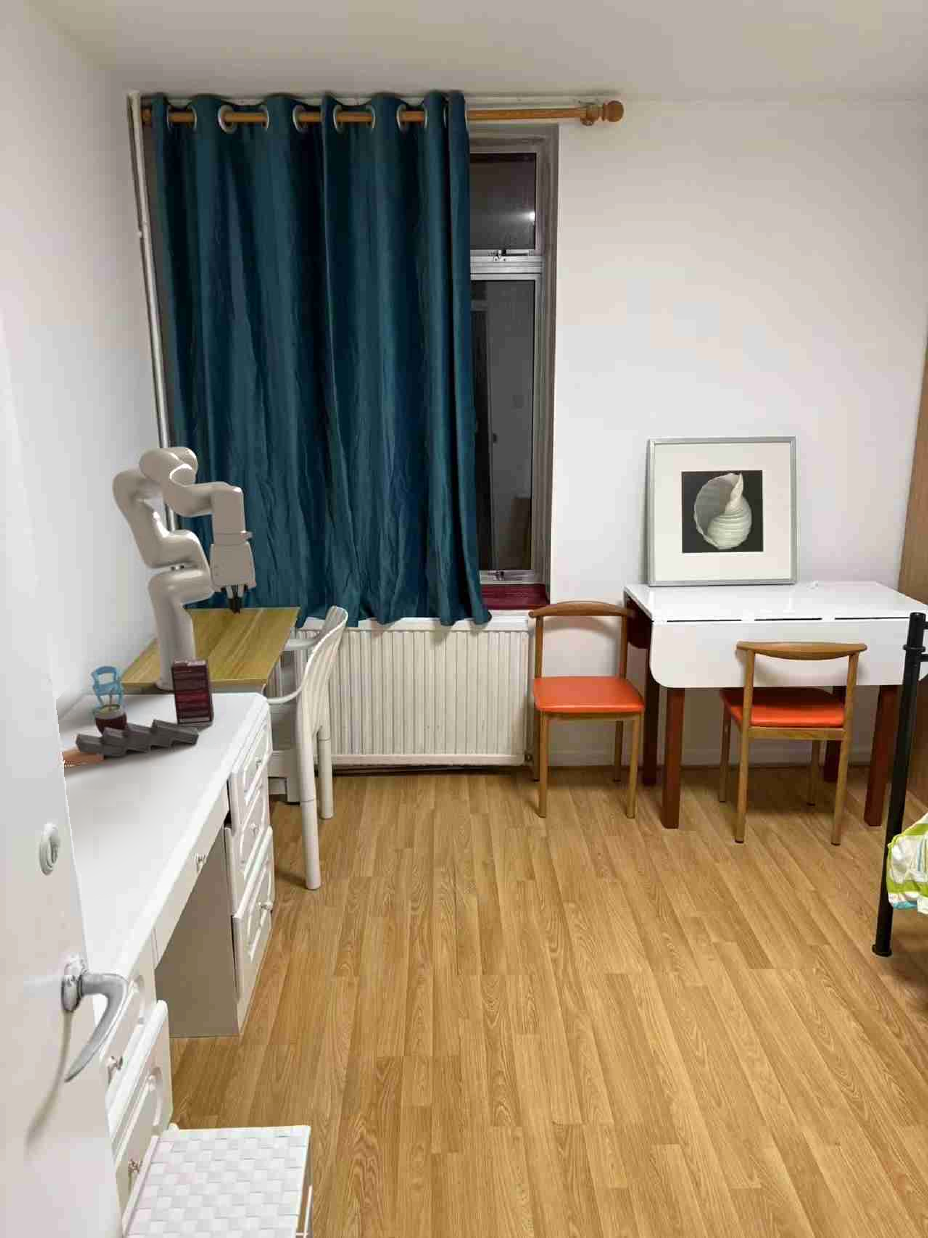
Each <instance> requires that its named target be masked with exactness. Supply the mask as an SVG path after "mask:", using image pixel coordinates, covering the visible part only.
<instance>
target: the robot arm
mask: <svg viewBox="0 0 928 1238" xmlns="http://www.w3.org/2000/svg"><path fill="white" fill-rule="evenodd" d="M198 467H199V464H198V459H197V456H196V454H195V452H193V451H192V449H190V448H188V447H186V446H173V447H172V446H171V447H162V448H161V447H160V448H154V449H150V450H147V451H146V452H144V453H143V454H142V456H141V457H140V458H139V462H138V468H137V467H136V468H130V469H129V468H128V469H125V470H122V471H120V472H119V473H117V474H115V476H114V477H113V480H112V485H111V486H112V494H113V498H114V502H115V504H116V506H117V507H118V509H119V511H120V513H121V514H122V516H123V517H124V518H125V520H126V523H128V525H129V527H130V530H131V532H132V535H133V538H134V540H135V544H136V546H137V549H138V551H139V554H140V556H141V559H142V561H143V563H144V565H145V567H147V568H148V569H150V570H162V569H163V570H164V569H168V568H172V567H174V568H175V567H179V566H183V567H184V568H177V569H173V570H172V569H171V570H167V571H162V572H159V573H156V574H155V575H153V576H152V577H151V578H150V579H149V581H148V582H147V583H148V584H147V590H148V596H149V599H150V601H151V605H152V610H153V614H154V622H155V628H156V629H155V630H156V638H157V639H156V640H157V645H158V657H159V665H160V676H159V677H158V678H157V679H156V681H155V683H156V684H155V685H156V687H157V688H158V689H161V690H164V691H173V683H172V674H171V665H172V664H173V662H174V661H183V660H197V658H196V657H197V655H196V645H195V644H196V643H195V635H194V625H193V619H192V617H191V616H190V614H189V613H188V612H187V611H186V610H185V609H184V608H183V606H184V605H187V604H190V603H192V604H193V603H195V602H199V601H204V600H207V599H209V598H211V597H212V596H213V595H214V592H218V593H223V595H225V596H226V597H227V599H228V609H229V610H230V611H231V612H232V613H233V615H234V614H241V609H243V599H242V597H244V594H245V593H246V592H247V591H248V590H249V589H253V588H255V587H256V586H257V582H256V572H255V565H254V564H255V563H254V558H253V552H252V549H251V548H252V547H251V545H250V542H249V541H248V539H250V538H253V532H252V531H247V530H246V521H245V519H246V518H245V506H244V493H243V491H242V489H241V487H238V486H235V485H234V486H233V485H230V484H228V483H226V482H225V481H211V482H203V483H195V482H196V475H197V472H198V469H199V468H198ZM160 498H163V500H164V502H165V505H166V506H167V507H168V508H169V509H170V510H171V511H172V512H174V513H176V514H177V515H179V516H181V517H186V518H194V517H199V516H205V515H211V520H212V535H213V542H214V543H211V544H210V550H209V551H210V552H209V563H208V560H207V557H206V555H205V551H204V549H203V547H202V544H201V542H200V540H199V537H197V535H196V534H195V533H194V532H192V531H191V530H189V529H176V530H172V531H171V530H170V531H169V530H168V529H167V528H166V525H165V523H164V521H163V518H162V516H161V515H160V513H159V512H158V511H157V510H156V509H155V508H153V507H152V506H151V505H150V504H148V503H146V502H145V501H146V500H154V499H160ZM233 586H236V588H235V593H233V590H232V587H233Z"/></svg>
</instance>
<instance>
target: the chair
mask: <svg viewBox="0 0 928 1238" xmlns="http://www.w3.org/2000/svg"><path fill="white" fill-rule="evenodd" d="M104 674H113V675H112V676H113V677H112V680H113V681H110V682H108V683H107V682H106V683H100V678H99V676H100V675H104ZM90 675H91V676H92V678H93V682H94V683H93V685H91V687H92V691H93V692H94V694H95V696H96V698H97V701H98V703H99V705H100V706H94V707H93V706H92V708H91V711H92V712H93V713H95V714H96V713H97V710H98V709H99V708H100V707H102V706H104V705H105V703H104V701H103V699H102V697H103V696H107V695H109V693H110V691H111V689H112V688H113V687H115V689H114V690H113V692H112V693H113V694H118V700H117V702H114V703H113V704H118V705H120V706H121V707H122V708H123V709H124V706H125V704H124V701H123V697H124V692H125V689H124V687H123V686H122V685H121V679H122V677H121V669H120V668H118V667H114V666H109V665H104V666H100V667H98V668H97V669H95V670H94V671H92V672H90ZM107 705H109V703H108V704H107Z"/></svg>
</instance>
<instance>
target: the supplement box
mask: <svg viewBox="0 0 928 1238" xmlns="http://www.w3.org/2000/svg"><path fill="white" fill-rule="evenodd" d="M209 665H210V664H209V658H204V659H196V660H183V661H174V662H173V664H172V665H171V674H172V683H173V690H172V691H173V699H174V707H175V714H176V715H175V716H176V724H180V725H184V726H189V727H199V726H213V724H214V720H215V712H214V705H213V692H212V684H211V674H210V666H209Z"/></svg>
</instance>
